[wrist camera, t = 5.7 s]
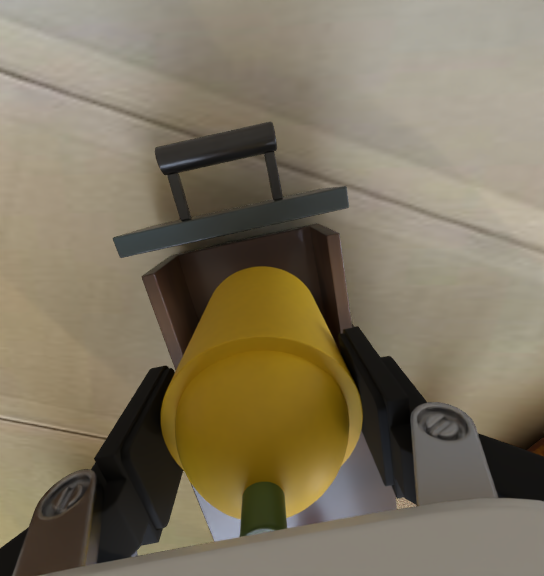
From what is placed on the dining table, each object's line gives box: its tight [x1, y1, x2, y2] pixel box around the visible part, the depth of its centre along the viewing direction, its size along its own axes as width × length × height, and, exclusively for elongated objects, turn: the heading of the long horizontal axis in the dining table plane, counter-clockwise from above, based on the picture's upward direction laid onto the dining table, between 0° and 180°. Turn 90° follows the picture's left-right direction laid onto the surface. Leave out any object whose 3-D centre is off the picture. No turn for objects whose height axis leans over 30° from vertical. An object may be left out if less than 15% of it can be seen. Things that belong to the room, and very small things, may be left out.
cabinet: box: [191, 325, 397, 542], centre depth 25 cm, size 17×15×9 cm
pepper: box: [161, 266, 363, 537], centre depth 11 cm, size 6×6×11 cm
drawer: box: [113, 122, 352, 370], centre depth 21 cm, size 20×13×7 cm
